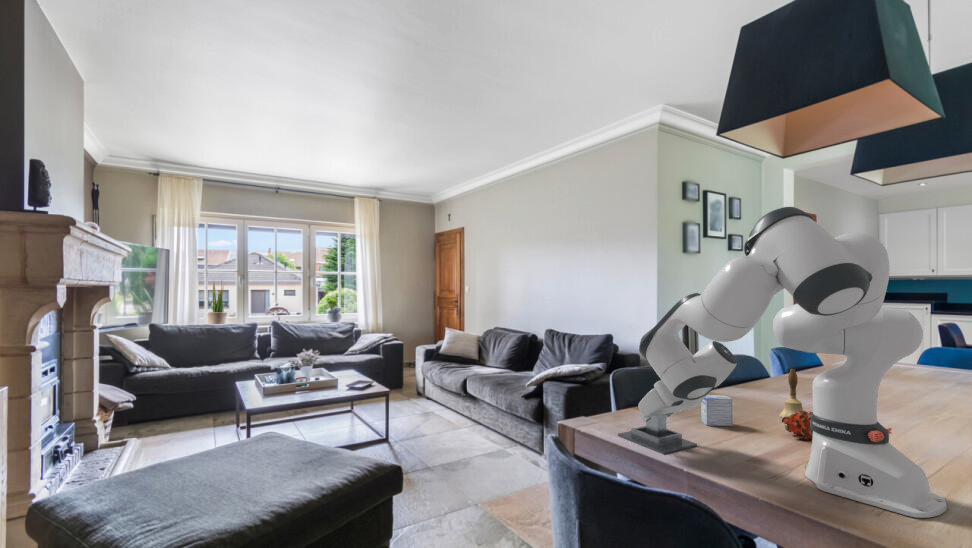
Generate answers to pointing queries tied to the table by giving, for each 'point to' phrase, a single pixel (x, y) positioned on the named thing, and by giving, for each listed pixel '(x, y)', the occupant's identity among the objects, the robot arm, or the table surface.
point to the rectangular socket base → (658, 440)
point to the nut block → (656, 426)
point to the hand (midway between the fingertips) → (656, 416)
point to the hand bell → (792, 397)
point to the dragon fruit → (799, 424)
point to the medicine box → (717, 410)
